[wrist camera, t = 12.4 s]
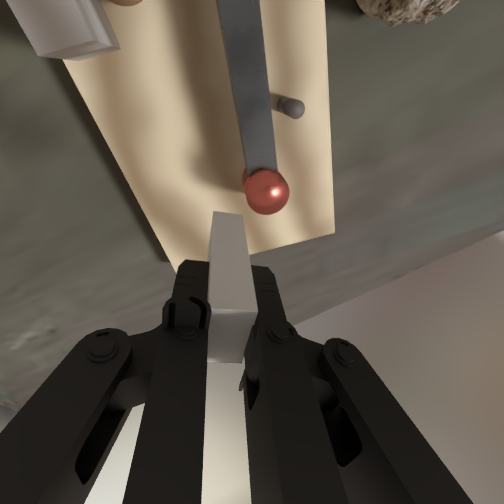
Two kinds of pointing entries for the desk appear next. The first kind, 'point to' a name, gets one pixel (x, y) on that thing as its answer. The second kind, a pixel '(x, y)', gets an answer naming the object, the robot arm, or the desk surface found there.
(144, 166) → the board
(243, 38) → the lever
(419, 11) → the rock
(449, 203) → the desk surface
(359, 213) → the desk surface
